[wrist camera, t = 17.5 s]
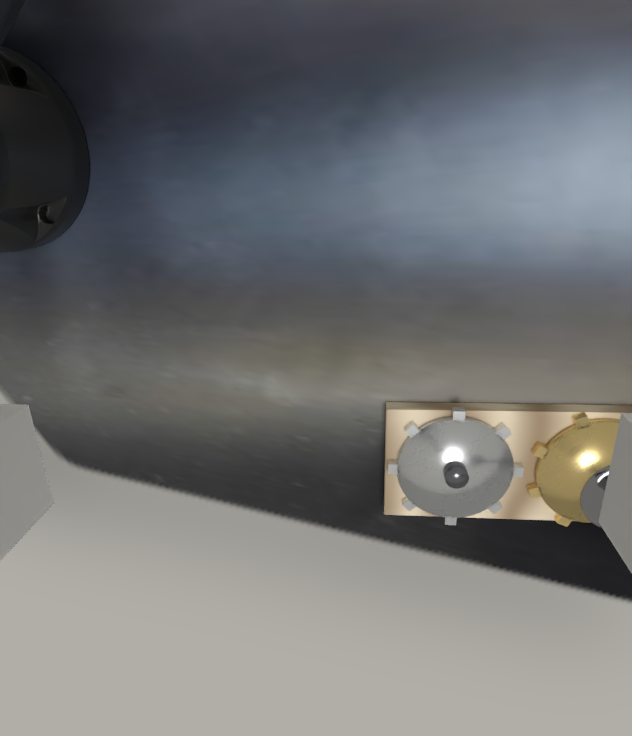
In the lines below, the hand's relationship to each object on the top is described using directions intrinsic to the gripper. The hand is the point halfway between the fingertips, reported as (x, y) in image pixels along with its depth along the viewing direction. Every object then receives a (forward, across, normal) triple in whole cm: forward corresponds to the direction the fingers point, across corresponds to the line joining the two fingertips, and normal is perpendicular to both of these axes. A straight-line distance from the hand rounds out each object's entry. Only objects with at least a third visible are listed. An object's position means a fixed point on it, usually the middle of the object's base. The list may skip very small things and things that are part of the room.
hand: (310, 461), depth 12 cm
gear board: (+32, +15, -19) cm, 40 cm away
